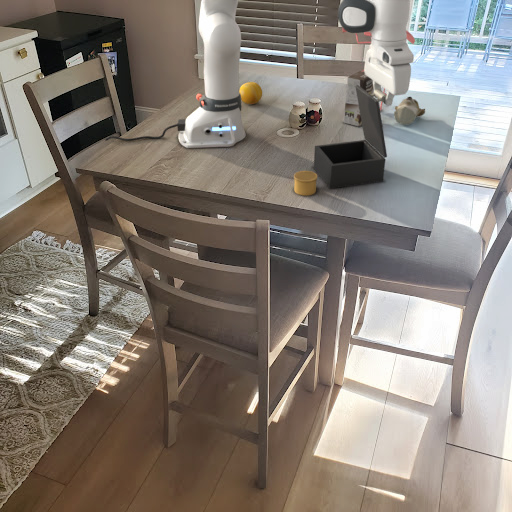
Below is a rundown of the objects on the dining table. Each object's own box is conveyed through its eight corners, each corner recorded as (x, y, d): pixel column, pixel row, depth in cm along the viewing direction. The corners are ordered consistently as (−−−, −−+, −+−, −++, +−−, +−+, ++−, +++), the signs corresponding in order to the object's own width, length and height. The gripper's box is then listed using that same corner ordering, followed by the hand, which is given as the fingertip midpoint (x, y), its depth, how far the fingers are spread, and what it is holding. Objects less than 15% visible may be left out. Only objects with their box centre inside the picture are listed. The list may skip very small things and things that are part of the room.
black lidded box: (330, 188, 156) (331, 165, 152) (313, 167, 167) (314, 145, 163) (382, 181, 159) (385, 159, 155) (363, 161, 170) (365, 139, 166)
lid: (375, 102, 144) (394, 95, 144) (355, 85, 155) (372, 79, 156) (384, 158, 154) (401, 151, 155) (364, 138, 166) (380, 132, 166)
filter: (297, 197, 152) (298, 182, 149) (290, 186, 157) (291, 172, 154) (319, 194, 153) (320, 179, 151) (312, 183, 158) (312, 169, 156)
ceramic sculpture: (390, 99, 188) (399, 88, 200) (386, 124, 193) (396, 112, 204) (421, 104, 184) (430, 93, 196) (417, 129, 189) (425, 117, 201)
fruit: (235, 104, 212) (234, 83, 207) (246, 98, 218) (246, 77, 213) (255, 108, 208) (254, 87, 204) (266, 102, 214) (266, 81, 209)
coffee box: (359, 126, 192) (363, 80, 183) (342, 122, 195) (346, 76, 186) (371, 118, 198) (376, 73, 189) (355, 115, 201) (359, 70, 192)
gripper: (360, 40, 152) (357, 90, 160) (393, 60, 136) (388, 115, 144) (381, 38, 153) (377, 88, 161) (417, 57, 137) (410, 112, 145)
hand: (382, 101), depth 152 cm, fingers closed on lid, 5 cm apart
